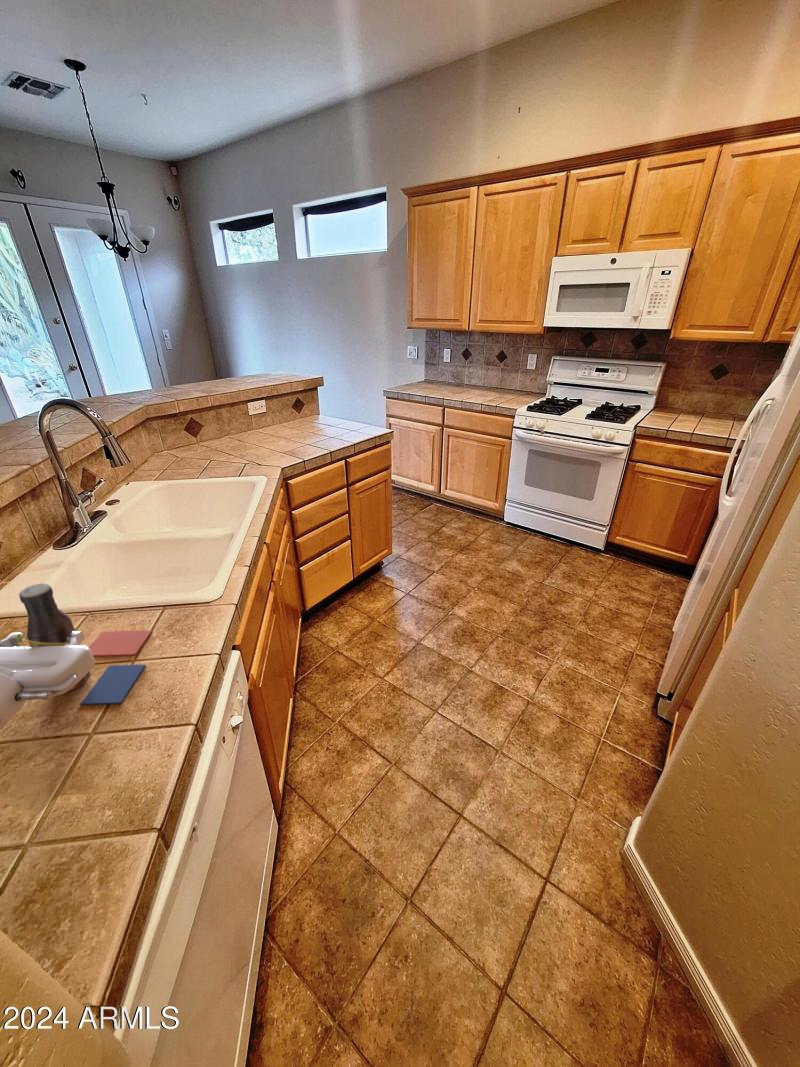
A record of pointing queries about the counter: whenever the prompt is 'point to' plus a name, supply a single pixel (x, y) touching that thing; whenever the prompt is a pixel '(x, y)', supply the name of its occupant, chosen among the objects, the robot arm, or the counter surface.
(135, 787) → the counter surface
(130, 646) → the terracotta mat
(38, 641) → the sauce bottle
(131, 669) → the blue mat
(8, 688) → the robot arm
